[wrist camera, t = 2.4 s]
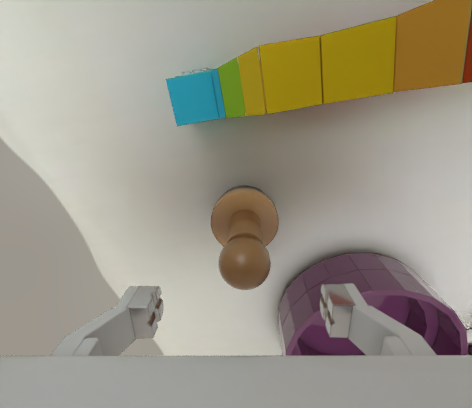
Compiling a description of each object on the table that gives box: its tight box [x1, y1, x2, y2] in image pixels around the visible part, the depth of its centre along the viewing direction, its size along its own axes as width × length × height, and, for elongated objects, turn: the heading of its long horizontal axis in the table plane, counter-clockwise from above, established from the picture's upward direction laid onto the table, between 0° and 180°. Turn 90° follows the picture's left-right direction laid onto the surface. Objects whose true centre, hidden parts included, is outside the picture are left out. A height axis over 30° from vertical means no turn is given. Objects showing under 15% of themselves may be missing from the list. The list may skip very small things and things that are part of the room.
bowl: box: [278, 253, 468, 356], centre depth 23 cm, size 14×14×6 cm
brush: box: [211, 186, 278, 290], centre depth 18 cm, size 5×5×9 cm
